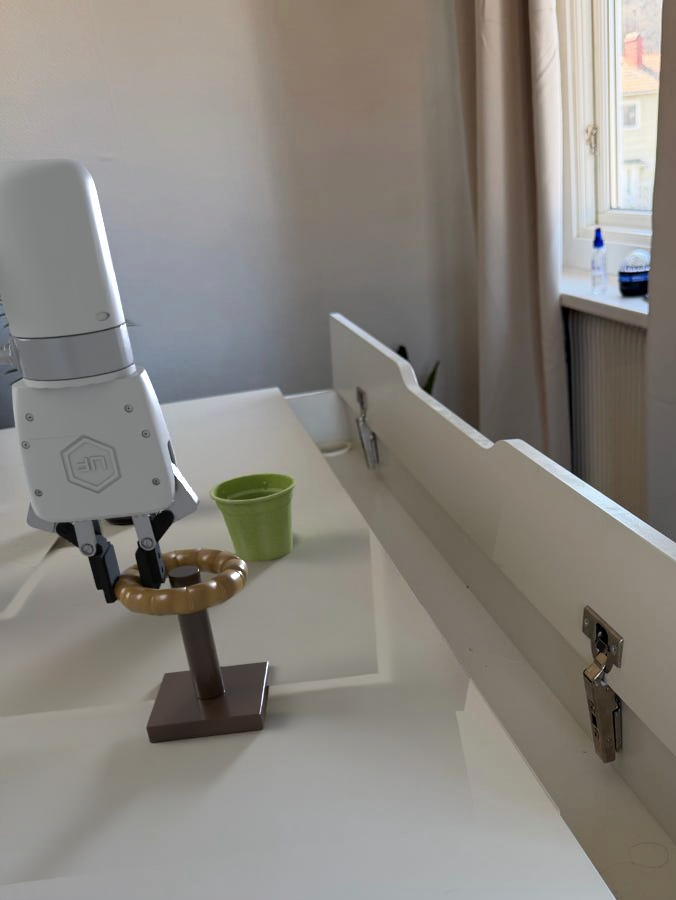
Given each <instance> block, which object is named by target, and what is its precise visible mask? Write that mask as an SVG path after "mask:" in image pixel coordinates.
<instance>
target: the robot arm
mask: <svg viewBox="0 0 676 900" xmlns="http://www.w3.org/2000/svg"><path fill="white" fill-rule="evenodd" d="M0 299H1V303H2V306H3V307H2V308H3V310H4V315H5V318H6V321H7V326H8V329H9V332H10V336H9V337H8V341H6V342H5V343H4V344H0V366H4V365H9V366H11V367H15V369H16V370H17V374H18V376H22V378H21V379H19V380H17V381H16V382H13V384H12V385H11V397H12V399H11V400H12V409H13V419H14V427H15V434H16V439H17V446H18V451H19V457H20V462H21V463H20V464H21V468H22V472H23V477H24V482H25V486H26V491H27V494H28V498H29V506H28V509H27V510H28V511H27V515H26V523H27V525H28V526H29V527H31V528H33V529H37V530H41V531H44V532H48V533H51V534H56V535H58V536H59V537H60V538H62V539H64V540H65V541H67V542H68V543H69V544H71V545H73V546H74V547H76V548H78V549H79V552H80V554H82V556H85V557H87V558H88V563H89V566H90V570H91V573H92V574H91V575H92V577H93V582H94V585H95V589H96V590H97V591H103V596H104V601H105V603H106V604H115V603H116V602H117V601H118V599H117V598H116V597H115V594H114V588H115V585H116V583H117V581H118V580H119V578H120V576H121V574H122V573H121V570H120V566H119V562H118V557H117V554H116V550H115V546H114V544H112V543H111V541H110V540H109V541H108V540H107V539H108V538H107V537H105V534H104V530H103V526H102V525H103V524H102V521H101V520H105V519H107V518H117V517H127V516H132V519H133V523H132V524H133V526H134V529H135V530H134V531H135V533H136V536H137V537H136V538H137V541H136V544H137V548H136V551H135V552H134V558H135V562H136V564H137V566H138V570H139V574H140V579H141V583H142V586H143V587H145V588H152V589H159V590H161V586H162V584H166V581H167V578H166V573H165V568H164V563H163V559H162V555H161V554H162V551H161V547H160V541H161V539H162V538H163V537H164V535H166V533H167V531H168V530H169V529H170V528H171V526H172V525H173V524H174V523H176V522H178V521H180V520H183V519H184V518H185V517H188V516H189V515H191V514H193V513H194V512H196V511H197V509H198V507H199V505H200V498H199V497H198V496H197V494H196V492H195V491H194V490H193V488H192V487H191V486H190V484H189V483H188V481H187V480H186V479H185V477H184V476H183V475H182V473H181V472H180V470H179V466H178V461H177V458H176V454H175V450H174V446H173V442H172V439H171V435H170V433H169V429H168V426H167V423H166V420H165V417H164V413H163V411H162V408H161V405H160V403H159V402H160V401H159V398H158V397H157V394H156V391H155V389H154V386H153V384H152V382H151V380H150V377H149V375H148V373H147V370H146V368H145V367H144V366H141V365H136V364H135V358H134V354H133V350H132V345H131V342H130V336H129V332H128V327H127V323H126V319H125V314H124V309H123V306H122V305H123V304H122V301H121V296H120V291H119V288H118V282H117V277H116V273H115V269H114V265H113V260H112V256H111V251H110V246H109V242H108V237H107V232H106V228H105V224H104V219H103V214H102V209H101V205H100V200H99V196H98V191H97V187H96V184H95V181H94V179H93V177H92V175H91V173H90V171H89V170H88V169H87V167H85V166H84V165H83V164H82V163H81V162H79V161H77V160H73V159H67V158H47V159H46V158H42V159H28V160H27V159H25V160H13V161H1V162H0Z"/></svg>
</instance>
